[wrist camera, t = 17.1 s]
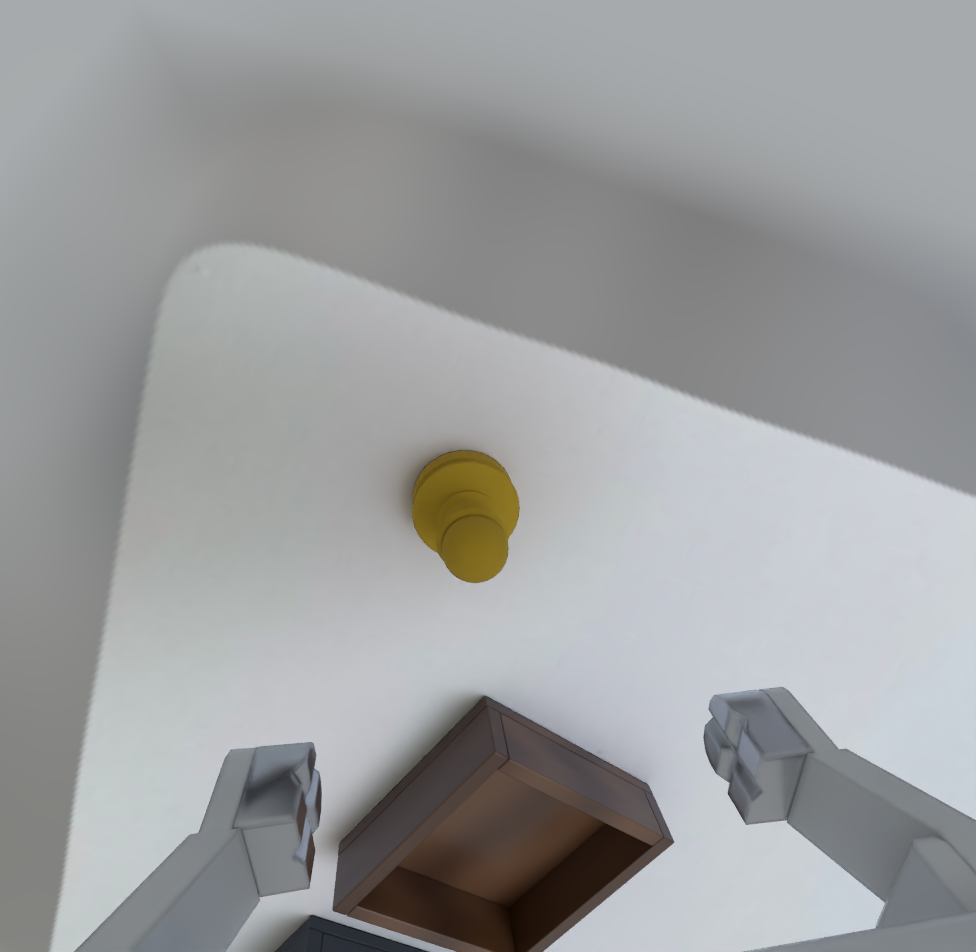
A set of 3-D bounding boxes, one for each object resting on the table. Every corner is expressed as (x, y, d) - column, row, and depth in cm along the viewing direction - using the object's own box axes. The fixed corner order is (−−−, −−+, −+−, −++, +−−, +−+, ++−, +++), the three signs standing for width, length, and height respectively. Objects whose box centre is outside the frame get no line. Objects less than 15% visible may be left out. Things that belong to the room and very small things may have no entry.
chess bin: (338, 844, 28) (331, 911, 25) (484, 695, 26) (495, 751, 23) (508, 908, 32) (518, 972, 29) (649, 785, 30) (675, 842, 27)
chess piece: (532, 503, 22) (565, 572, 17) (453, 559, 23) (466, 640, 18) (473, 429, 20) (493, 483, 16) (390, 491, 21) (386, 561, 16)
